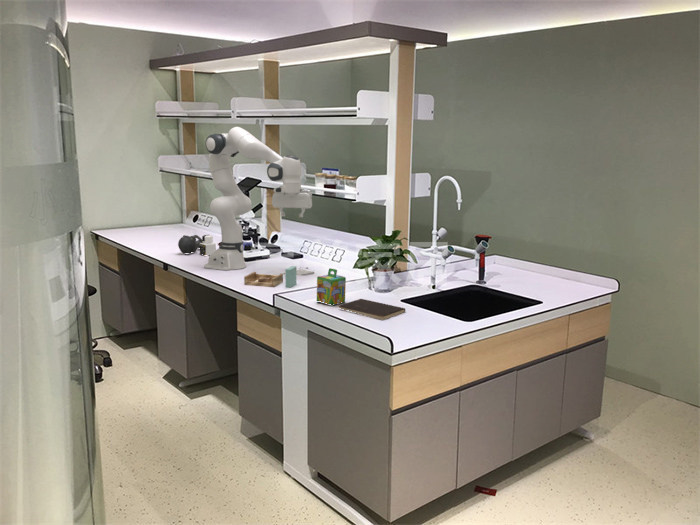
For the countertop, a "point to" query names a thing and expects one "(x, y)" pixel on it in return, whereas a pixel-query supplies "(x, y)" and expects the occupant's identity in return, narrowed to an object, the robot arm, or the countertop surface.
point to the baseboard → (302, 272)
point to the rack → (274, 282)
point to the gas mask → (189, 243)
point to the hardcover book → (372, 309)
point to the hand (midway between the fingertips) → (292, 216)
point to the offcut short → (264, 279)
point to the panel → (290, 276)
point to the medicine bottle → (207, 245)
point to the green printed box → (331, 288)
